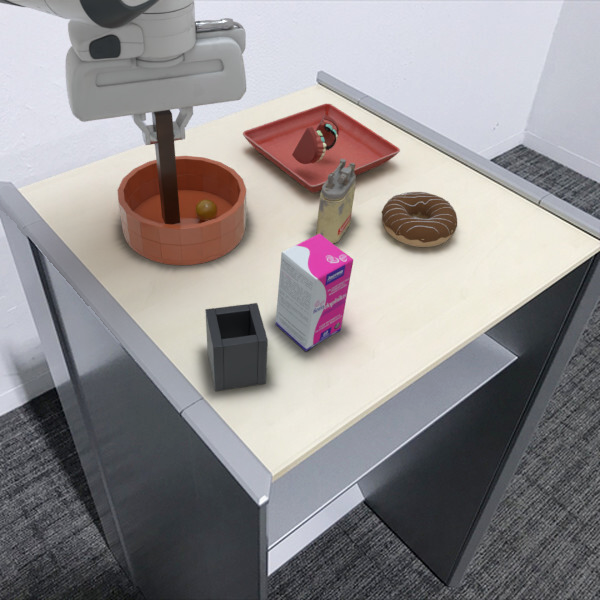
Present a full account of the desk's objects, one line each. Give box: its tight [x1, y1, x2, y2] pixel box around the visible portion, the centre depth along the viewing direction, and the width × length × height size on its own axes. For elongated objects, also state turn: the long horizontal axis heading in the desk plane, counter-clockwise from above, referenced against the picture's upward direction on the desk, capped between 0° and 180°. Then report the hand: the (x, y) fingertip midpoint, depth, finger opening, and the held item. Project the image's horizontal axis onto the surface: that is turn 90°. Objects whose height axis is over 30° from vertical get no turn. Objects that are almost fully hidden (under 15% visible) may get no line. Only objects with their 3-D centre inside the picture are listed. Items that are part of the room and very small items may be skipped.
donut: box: [381, 191, 458, 248], centre depth 93 cm, size 11×11×4 cm
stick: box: [151, 110, 180, 224], centre depth 84 cm, size 2×2×16 cm
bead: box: [195, 199, 217, 222], centre depth 91 cm, size 3×3×3 cm
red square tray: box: [242, 103, 401, 194], centre depth 105 cm, size 18×18×3 cm
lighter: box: [315, 159, 357, 244], centre depth 90 cm, size 7×4×10 cm, turn 155°
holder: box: [205, 302, 269, 392], centre depth 72 cm, size 6×6×7 cm
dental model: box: [292, 114, 339, 164], centre depth 99 cm, size 6×4×8 cm
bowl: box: [116, 155, 247, 266], centre depth 90 cm, size 17×17×6 cm
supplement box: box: [274, 234, 354, 352], centre depth 75 cm, size 6×6×12 cm
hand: (164, 140), depth 81 cm, fingers closed on stick, 2 cm apart
